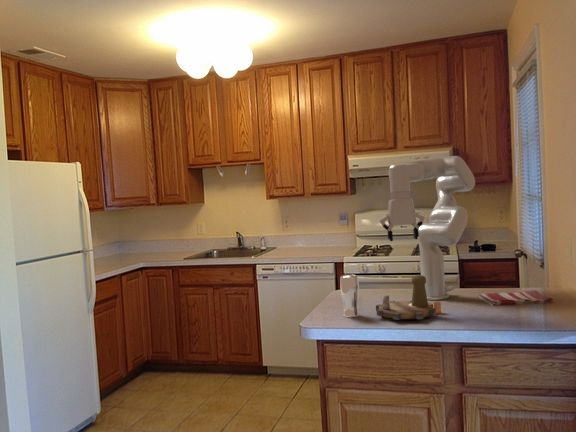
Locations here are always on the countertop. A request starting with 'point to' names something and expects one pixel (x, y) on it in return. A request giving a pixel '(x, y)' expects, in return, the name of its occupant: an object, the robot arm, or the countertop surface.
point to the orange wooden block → (436, 305)
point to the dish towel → (515, 298)
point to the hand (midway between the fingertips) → (403, 239)
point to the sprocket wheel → (403, 309)
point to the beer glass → (350, 295)
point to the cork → (419, 291)
